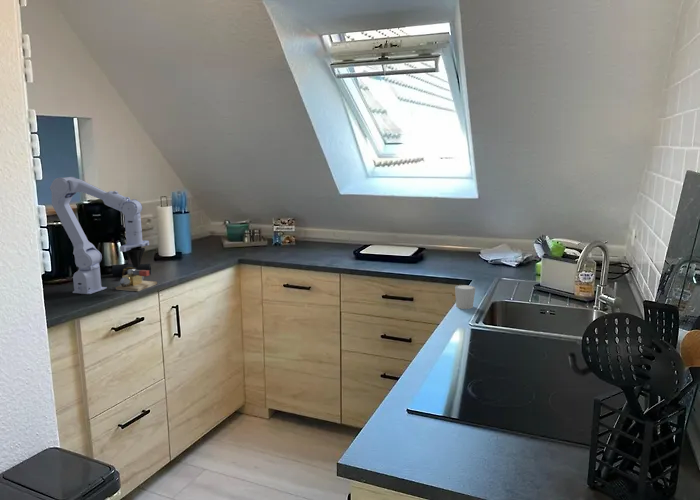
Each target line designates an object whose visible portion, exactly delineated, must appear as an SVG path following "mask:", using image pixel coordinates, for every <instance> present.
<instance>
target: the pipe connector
mask: <svg viewBox="0 0 700 500" xmlns="http://www.w3.org/2000/svg"><path fill="white" fill-rule="evenodd" d="M111 269H112V270H111V274H112V277H113V278H115V277H118V278H119V277H122V276H124V275H128V270H129V269H135V270H149V276H151V275H152V265H151V263H140V267H133V265H132V264H116V265H115V264H113V265H112V267H111Z"/></svg>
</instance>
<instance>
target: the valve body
mask: <svg viewBox="0 0 700 500" xmlns="http://www.w3.org/2000/svg"><path fill="white" fill-rule="evenodd" d="M121 277H122V278H120V280H119V284H120V285H121V286H123V287H126V286H134V285H137V284H140V283H142V281H145V280H144V279H145V276H139V275H124V276H121Z"/></svg>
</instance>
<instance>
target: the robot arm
mask: <svg viewBox="0 0 700 500" xmlns="http://www.w3.org/2000/svg"><path fill="white" fill-rule="evenodd" d="M49 190H50V191H51V205H52V207H53V210H54V212H55V213H56V215H57V217H58V219H59V221H60V223H61V224H62V227H63V229H64V231H65V232H66V234H67V236H68V239H70V241H71V243H72V246H73V252H72V254H73V255H74V263H75V265H76V267H77V268H78V270H77V271H76V272H74V273H73V276H72V280H73V291H72V293H73V294H79V295H80V294H81V295H92V294H95V293H99V292H101V291H103V290H106V289H107V288H108V287H107V286H102V279H101V276H102V275H101V267H100V263H101V262H102V260H103V259H102V258H103V256H102V253H101V252H100V251H99V250H98V249H97V248H96V246H95V244H93V243H92V242H90V241H89V240H88V237H87V235H86V234H85V232H84V230H83V228H82V226H81V224H80V222H79V220H78V219H77V216H76V215H75V212H74V211H73V210H74V209H73V208H72V207H71V205H70V202H71V201H72V199H73V197H74V196H75V195H76V194H78V193H82V194H83V193H84V194H85V195H86V194H87V195H88V196H91V197H94V198H96V199H98V200H102V202H103V204H104V205H105V206H107V207H110V208H112V209H114V210H117V211H119V212H121V213H122V215H124V227H125V238H126V239H125V240H126V244H123V245H120V246H119V252H121V253H122V252H124V253H126V255H128V257H129V259H130V262H131V265H133V267H140V264H142V259H143V258H142V257H143V255H144V253H145V251H146V249H145V246H150V240H145V239H144V240H143V232H142V231H143V230H142V217H141V216H142V215H141V213H142V210H143V204H142V203H141V202H140V201H139V200H138V199H135V198H133V199H131V197H129V196H124V195H122V194H120V193H119V191H117V190H109V191H105V190H103V189H101V188H98V187H97V186H94V185H93V184H90V182H89V183H88V182H87V181H84V180H83V179H80V178H77V177H75V176H67V177H57V178H55V179H53V180H52V181H51V184H50V186H49Z"/></svg>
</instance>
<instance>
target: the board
mask: <svg viewBox="0 0 700 500" xmlns="http://www.w3.org/2000/svg"><path fill="white" fill-rule="evenodd" d="M156 285H158V281H153V280H143V281H142V283H140V284H137V285H134V286H126V287H123V286H121V284H120V285H118V286H117V285H116V286H115V290H117V291H127V292H128V291H130V292H140V291H142V290H145V289H148V288H151V287H154V286H156Z"/></svg>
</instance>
